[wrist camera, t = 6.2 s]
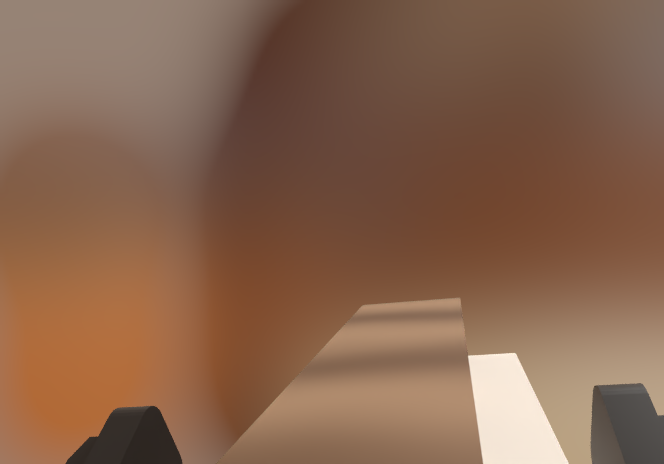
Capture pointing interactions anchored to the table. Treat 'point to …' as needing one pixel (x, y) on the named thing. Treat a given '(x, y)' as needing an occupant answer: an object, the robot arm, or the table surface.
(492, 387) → the stand
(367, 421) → the slat
